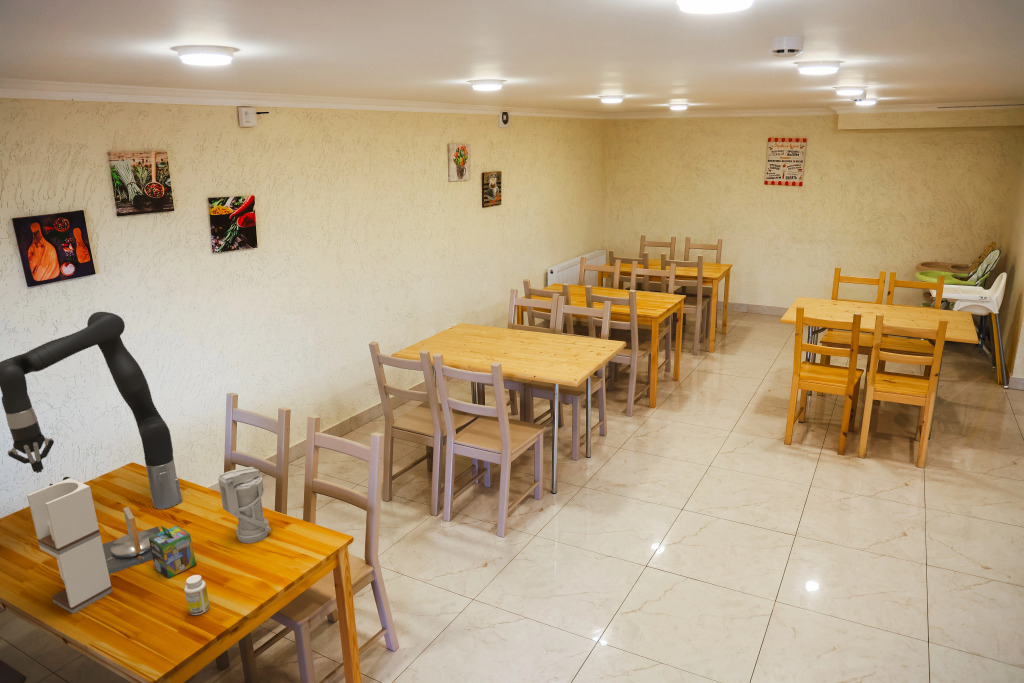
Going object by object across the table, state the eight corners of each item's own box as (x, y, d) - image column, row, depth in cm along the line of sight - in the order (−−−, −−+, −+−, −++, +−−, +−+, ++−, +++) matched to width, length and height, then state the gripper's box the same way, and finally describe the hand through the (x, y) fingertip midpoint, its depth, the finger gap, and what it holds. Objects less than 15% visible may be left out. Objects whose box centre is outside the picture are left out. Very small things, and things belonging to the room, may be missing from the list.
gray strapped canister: (259, 524, 240) (250, 458, 233) (275, 534, 233) (266, 467, 226) (224, 539, 230) (213, 472, 224) (239, 551, 224) (229, 482, 217)
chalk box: (196, 565, 217) (189, 524, 213) (168, 579, 210) (160, 537, 206) (182, 555, 222) (175, 514, 218) (153, 569, 215) (145, 527, 211)
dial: (108, 544, 226) (100, 508, 222) (151, 530, 233) (144, 495, 230) (116, 564, 215) (108, 526, 211) (161, 549, 223) (154, 512, 219)
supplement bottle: (204, 601, 199) (198, 570, 197) (213, 608, 196) (208, 577, 193) (185, 610, 195) (179, 579, 192) (194, 618, 192) (188, 587, 189)
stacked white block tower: (92, 581, 210) (69, 478, 200) (112, 591, 205) (89, 486, 195) (53, 602, 200) (26, 495, 191) (73, 613, 195) (47, 504, 185)
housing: (158, 530, 237) (157, 525, 237) (171, 552, 224) (170, 548, 223) (99, 549, 227) (98, 544, 226) (109, 574, 213) (108, 569, 213)
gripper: (45, 413, 223) (60, 460, 229) (-4, 426, 215) (13, 475, 221) (49, 419, 218) (64, 467, 223) (-1, 433, 210) (16, 483, 215)
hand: (38, 471), depth 222 cm, fingers closed
